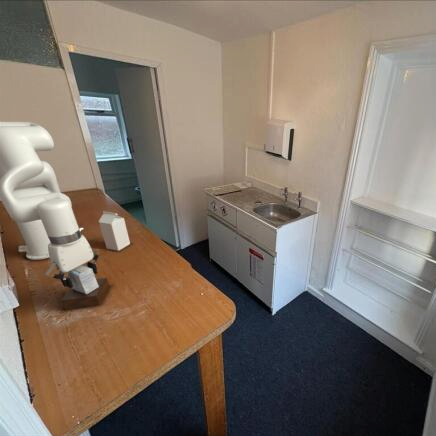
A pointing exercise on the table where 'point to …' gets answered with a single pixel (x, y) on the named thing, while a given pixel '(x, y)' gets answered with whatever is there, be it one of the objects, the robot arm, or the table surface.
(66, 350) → the table surface
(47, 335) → the table surface
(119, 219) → the milk carton
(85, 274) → the medicine box
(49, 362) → the table surface
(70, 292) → the walnut block
